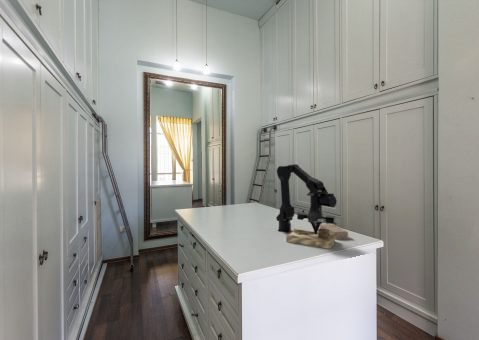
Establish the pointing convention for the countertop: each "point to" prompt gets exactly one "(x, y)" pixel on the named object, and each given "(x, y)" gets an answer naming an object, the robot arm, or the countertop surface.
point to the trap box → (310, 238)
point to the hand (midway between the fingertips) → (315, 233)
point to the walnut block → (323, 233)
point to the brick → (335, 231)
